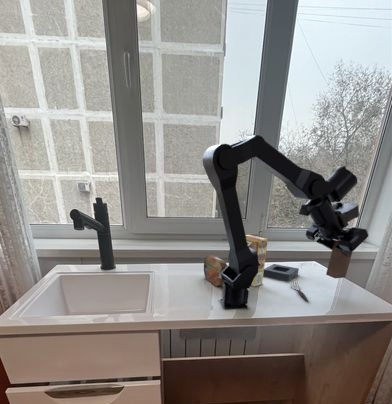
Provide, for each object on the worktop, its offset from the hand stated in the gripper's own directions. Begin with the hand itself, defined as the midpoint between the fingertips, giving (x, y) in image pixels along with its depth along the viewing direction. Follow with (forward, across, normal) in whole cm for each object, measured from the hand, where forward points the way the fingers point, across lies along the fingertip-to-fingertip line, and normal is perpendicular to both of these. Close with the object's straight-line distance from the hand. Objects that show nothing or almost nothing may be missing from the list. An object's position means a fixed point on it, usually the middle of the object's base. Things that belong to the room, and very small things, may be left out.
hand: (344, 254), depth 86 cm
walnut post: (+4, 0, +6) cm, 7 cm away
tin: (-15, +20, +33) cm, 41 cm away
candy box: (-7, +17, +25) cm, 31 cm away
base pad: (+4, +21, +14) cm, 25 cm away
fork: (+1, +3, +17) cm, 17 cm away
